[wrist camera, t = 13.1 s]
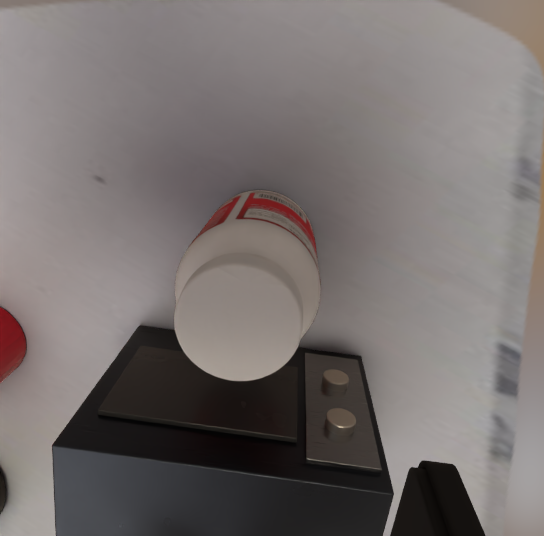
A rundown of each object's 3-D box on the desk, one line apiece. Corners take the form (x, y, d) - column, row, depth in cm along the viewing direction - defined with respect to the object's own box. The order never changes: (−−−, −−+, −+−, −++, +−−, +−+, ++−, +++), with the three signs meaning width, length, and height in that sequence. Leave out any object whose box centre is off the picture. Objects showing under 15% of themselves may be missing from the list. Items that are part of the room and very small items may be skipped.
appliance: (139, 314, 29) (50, 429, 19) (363, 345, 29) (398, 479, 19) (135, 441, 32) (57, 600, 22) (337, 470, 32) (354, 643, 22)
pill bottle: (221, 298, 29) (176, 409, 18) (196, 199, 27) (130, 260, 16) (323, 281, 28) (336, 387, 17) (305, 178, 26) (308, 228, 15)
